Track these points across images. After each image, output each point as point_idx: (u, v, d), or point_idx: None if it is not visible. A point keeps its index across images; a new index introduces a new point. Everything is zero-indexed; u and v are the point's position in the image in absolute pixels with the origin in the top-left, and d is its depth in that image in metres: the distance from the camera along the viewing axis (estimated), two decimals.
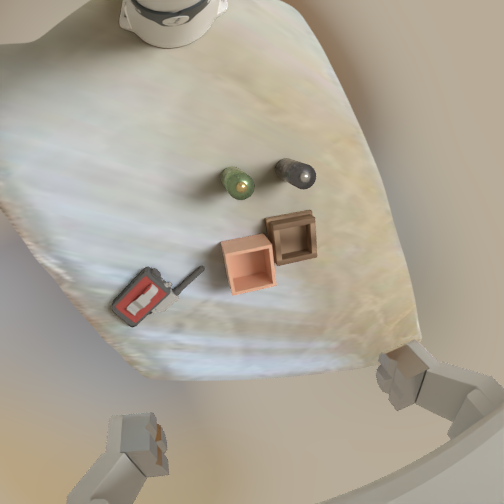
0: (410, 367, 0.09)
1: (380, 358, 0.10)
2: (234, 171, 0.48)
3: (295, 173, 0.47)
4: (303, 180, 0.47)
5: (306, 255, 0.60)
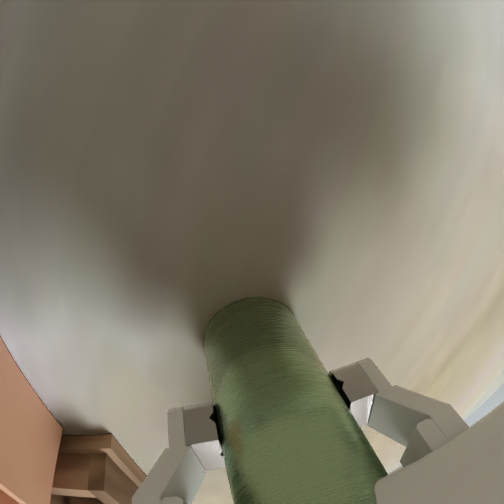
0: (357, 389, 0.09)
1: None
2: None
3: None
4: None
5: None
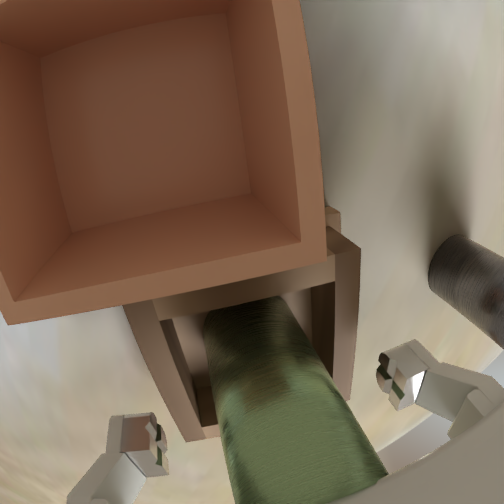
0: (410, 367, 0.09)
1: (380, 358, 0.10)
2: None
3: None
4: None
5: (191, 412, 0.12)
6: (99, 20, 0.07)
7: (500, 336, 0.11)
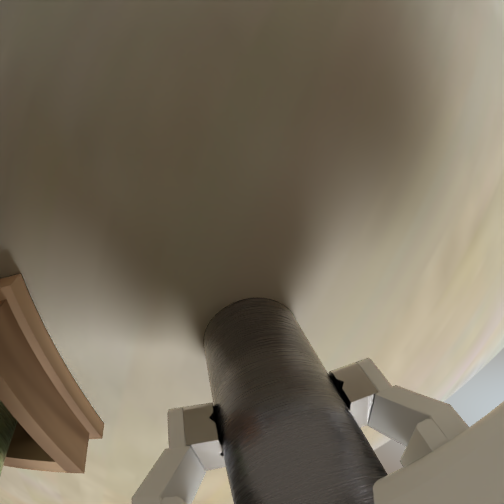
0: (357, 389, 0.09)
1: None
2: None
3: None
4: None
5: None
6: None
7: None
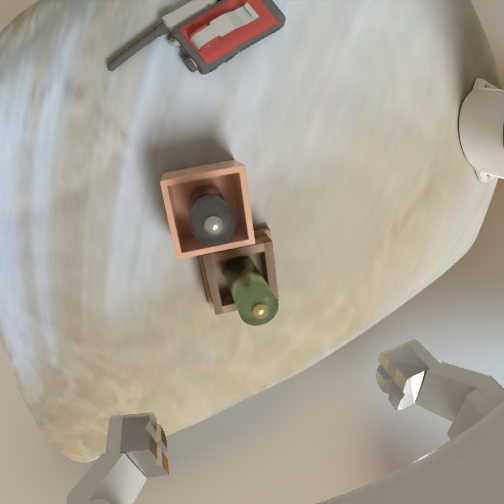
0: (410, 367, 0.09)
1: (380, 358, 0.10)
2: None
3: (218, 206, 0.27)
4: (207, 222, 0.26)
5: (219, 298, 0.37)
6: None
7: None
